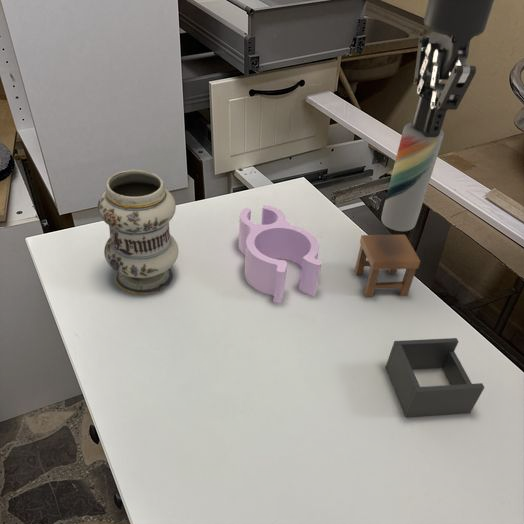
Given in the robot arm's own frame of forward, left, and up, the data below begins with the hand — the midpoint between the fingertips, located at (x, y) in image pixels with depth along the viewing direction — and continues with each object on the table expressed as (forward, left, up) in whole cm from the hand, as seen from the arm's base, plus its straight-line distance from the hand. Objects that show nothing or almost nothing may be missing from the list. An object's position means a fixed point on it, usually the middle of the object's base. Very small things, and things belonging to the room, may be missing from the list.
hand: (424, 128), depth 74 cm
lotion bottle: (0, 0, -16) cm, 16 cm away
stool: (0, 0, -28) cm, 28 cm away
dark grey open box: (+1, +25, -28) cm, 38 cm away
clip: (+19, -6, -28) cm, 34 cm away
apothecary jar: (+42, -4, -28) cm, 50 cm away
